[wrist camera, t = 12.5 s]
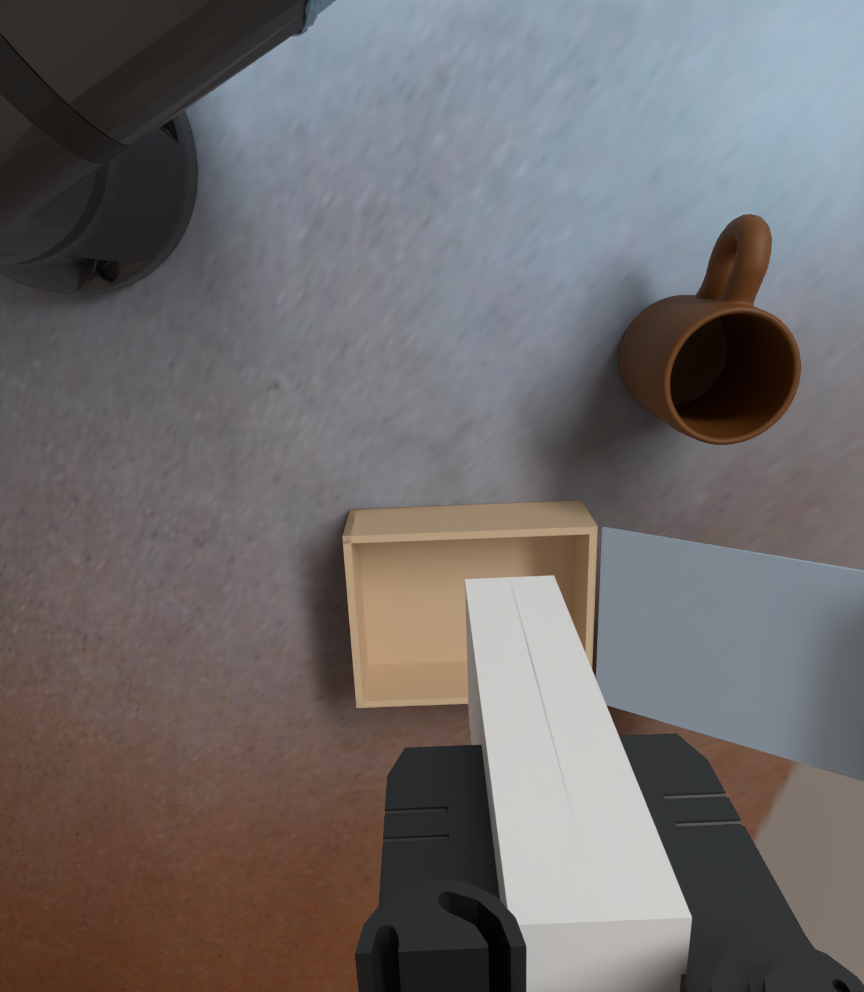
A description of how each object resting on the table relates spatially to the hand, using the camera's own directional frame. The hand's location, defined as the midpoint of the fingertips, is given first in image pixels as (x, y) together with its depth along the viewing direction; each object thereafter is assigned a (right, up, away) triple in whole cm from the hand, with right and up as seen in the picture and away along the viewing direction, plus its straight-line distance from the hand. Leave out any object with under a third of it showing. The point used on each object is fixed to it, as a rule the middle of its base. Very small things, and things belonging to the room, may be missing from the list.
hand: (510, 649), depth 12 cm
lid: (+16, -7, +29) cm, 34 cm away
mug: (+15, +14, +34) cm, 40 cm away
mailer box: (+1, -4, +40) cm, 40 cm away
